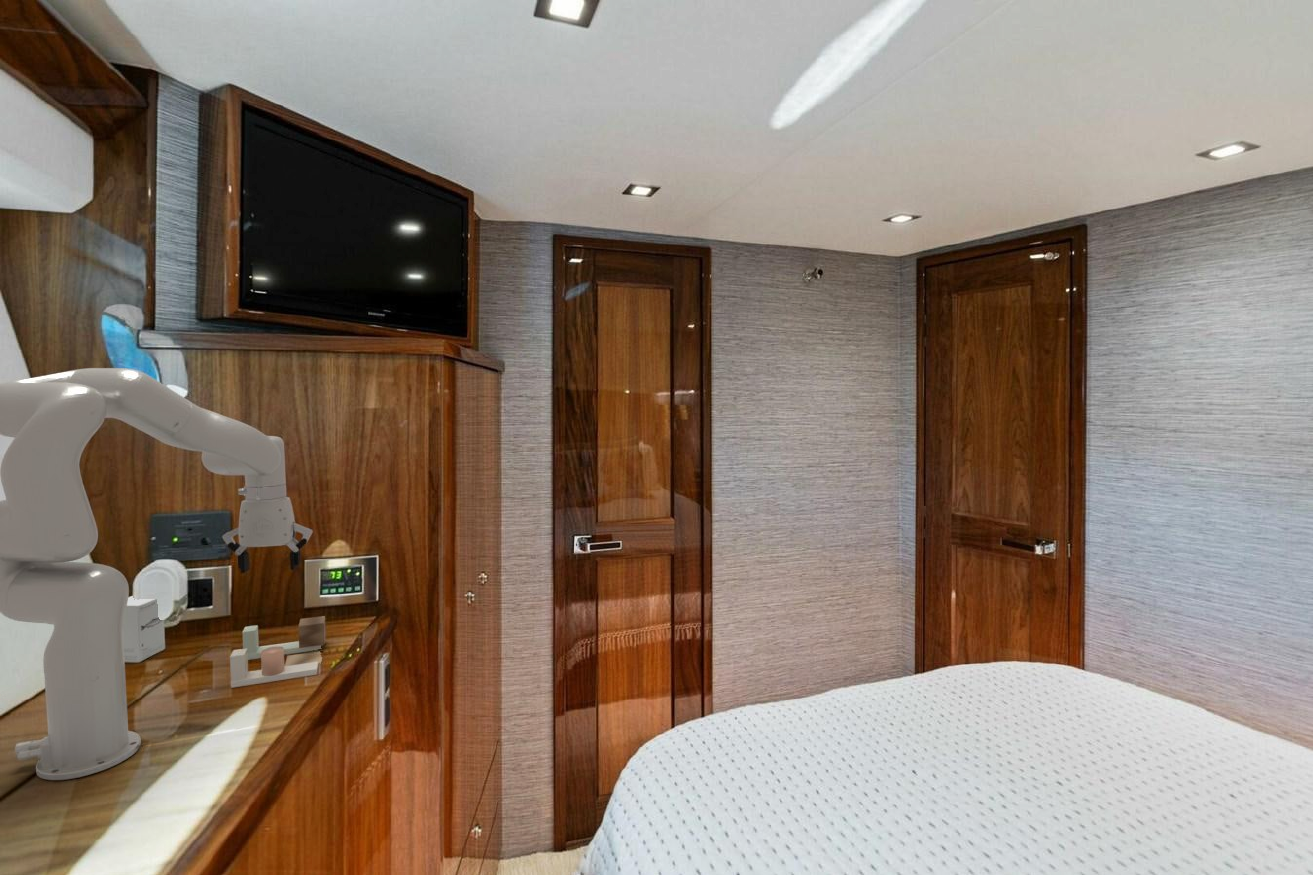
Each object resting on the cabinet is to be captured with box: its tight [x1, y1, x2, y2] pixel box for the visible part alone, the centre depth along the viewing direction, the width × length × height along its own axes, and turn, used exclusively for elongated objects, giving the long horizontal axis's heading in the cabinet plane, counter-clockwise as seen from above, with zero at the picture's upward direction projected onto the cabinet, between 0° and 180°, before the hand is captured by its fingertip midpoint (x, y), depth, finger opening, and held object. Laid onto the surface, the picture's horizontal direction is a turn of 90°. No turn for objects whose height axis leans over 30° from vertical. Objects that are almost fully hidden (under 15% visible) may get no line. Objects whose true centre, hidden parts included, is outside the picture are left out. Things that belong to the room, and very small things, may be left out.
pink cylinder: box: [260, 646, 285, 676], centre depth 131 cm, size 4×4×4 cm
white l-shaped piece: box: [241, 624, 323, 661], centre depth 143 cm, size 15×4×6 cm, turn 114°
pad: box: [284, 650, 323, 666], centre depth 139 cm, size 7×7×1 cm
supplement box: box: [123, 595, 166, 663], centre depth 142 cm, size 7×7×13 cm
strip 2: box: [229, 648, 319, 689], centre depth 131 cm, size 15×4×6 cm, turn 114°
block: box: [298, 615, 327, 648], centre depth 146 cm, size 5×5×5 cm
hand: (270, 569), depth 141 cm, fingers open, 9 cm apart
